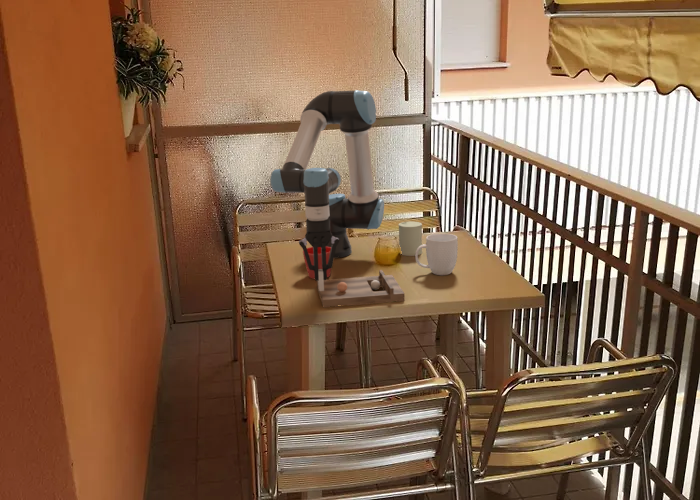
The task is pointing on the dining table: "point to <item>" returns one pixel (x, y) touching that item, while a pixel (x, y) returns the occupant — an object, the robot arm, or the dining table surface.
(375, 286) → the ball white
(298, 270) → the dining table surface
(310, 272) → the flower pot
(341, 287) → the ball terracotta
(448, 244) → the mug
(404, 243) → the can
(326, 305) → the board
